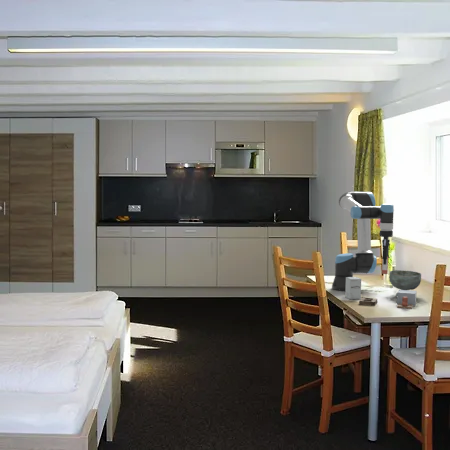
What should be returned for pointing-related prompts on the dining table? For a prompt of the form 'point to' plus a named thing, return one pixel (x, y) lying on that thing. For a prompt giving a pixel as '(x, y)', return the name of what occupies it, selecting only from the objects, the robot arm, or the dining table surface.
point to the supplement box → (353, 288)
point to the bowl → (405, 279)
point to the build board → (368, 301)
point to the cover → (406, 293)
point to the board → (405, 303)
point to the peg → (387, 268)
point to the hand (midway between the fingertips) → (385, 269)
